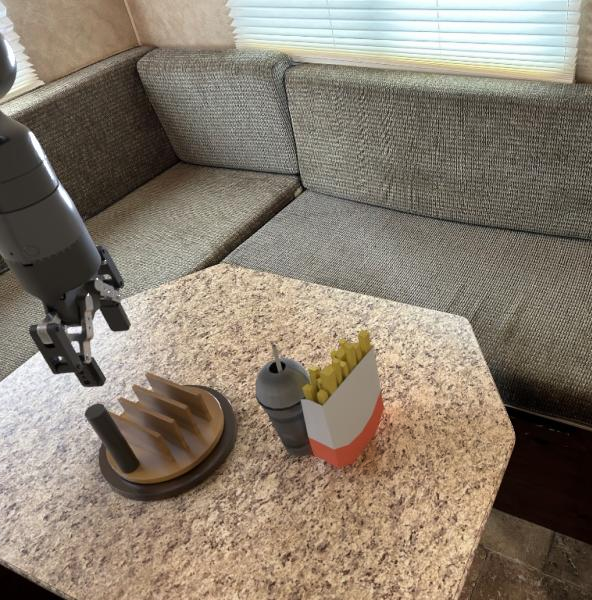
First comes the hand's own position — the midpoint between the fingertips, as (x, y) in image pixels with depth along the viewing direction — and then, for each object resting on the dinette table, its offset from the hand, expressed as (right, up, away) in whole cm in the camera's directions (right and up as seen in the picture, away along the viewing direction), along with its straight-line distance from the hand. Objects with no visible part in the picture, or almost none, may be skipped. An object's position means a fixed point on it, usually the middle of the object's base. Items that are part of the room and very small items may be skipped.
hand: (109, 355), depth 68 cm
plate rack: (-1, -13, +18) cm, 22 cm away
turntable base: (0, -14, +19) cm, 24 cm away
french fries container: (+26, -14, +17) cm, 33 cm away
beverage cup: (+19, -14, +17) cm, 29 cm away
